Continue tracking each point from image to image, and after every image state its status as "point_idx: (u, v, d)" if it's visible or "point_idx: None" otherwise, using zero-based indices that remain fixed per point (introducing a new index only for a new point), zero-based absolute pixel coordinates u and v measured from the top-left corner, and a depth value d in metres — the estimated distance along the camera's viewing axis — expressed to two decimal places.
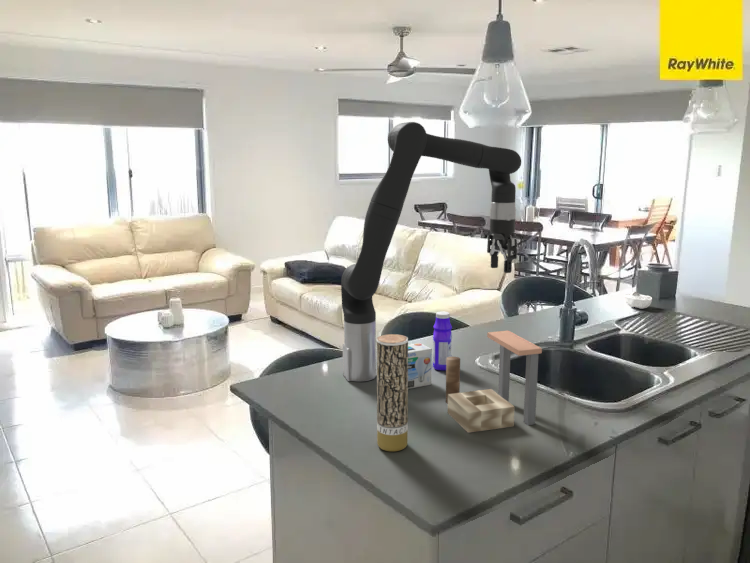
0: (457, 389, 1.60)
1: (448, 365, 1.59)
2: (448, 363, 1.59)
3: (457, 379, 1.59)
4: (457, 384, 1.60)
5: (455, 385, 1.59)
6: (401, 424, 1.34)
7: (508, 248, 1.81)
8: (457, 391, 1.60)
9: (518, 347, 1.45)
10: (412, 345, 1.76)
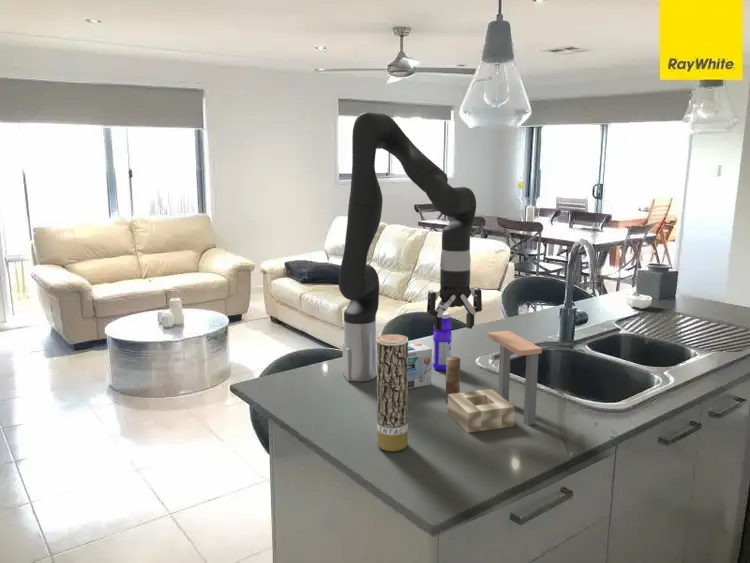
0: (457, 389, 1.60)
1: (448, 365, 1.59)
2: (448, 363, 1.59)
3: (457, 379, 1.59)
4: (457, 384, 1.60)
5: (455, 385, 1.59)
6: (401, 424, 1.34)
7: (479, 299, 1.57)
8: (457, 391, 1.60)
9: (518, 347, 1.45)
10: (412, 345, 1.76)
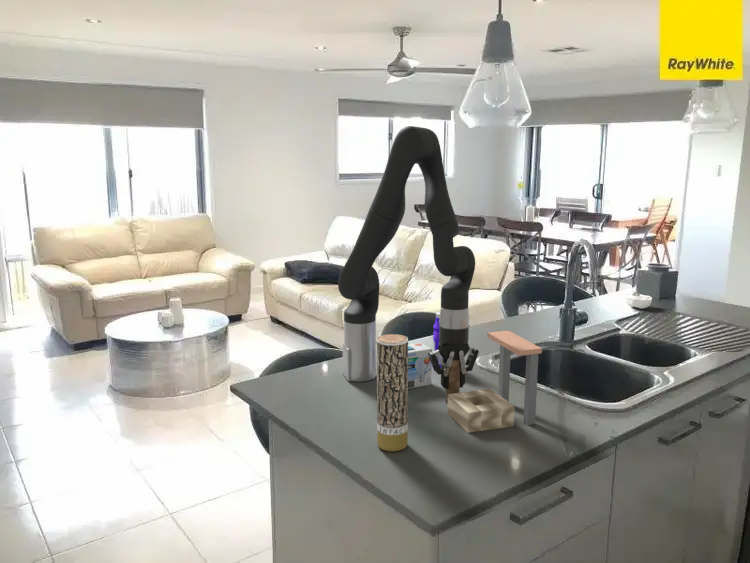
0: (457, 389, 1.60)
1: None
2: None
3: (457, 379, 1.59)
4: (457, 384, 1.60)
5: (455, 385, 1.59)
6: (401, 424, 1.34)
7: (473, 359, 1.60)
8: (457, 391, 1.60)
9: (518, 347, 1.45)
10: (412, 345, 1.76)
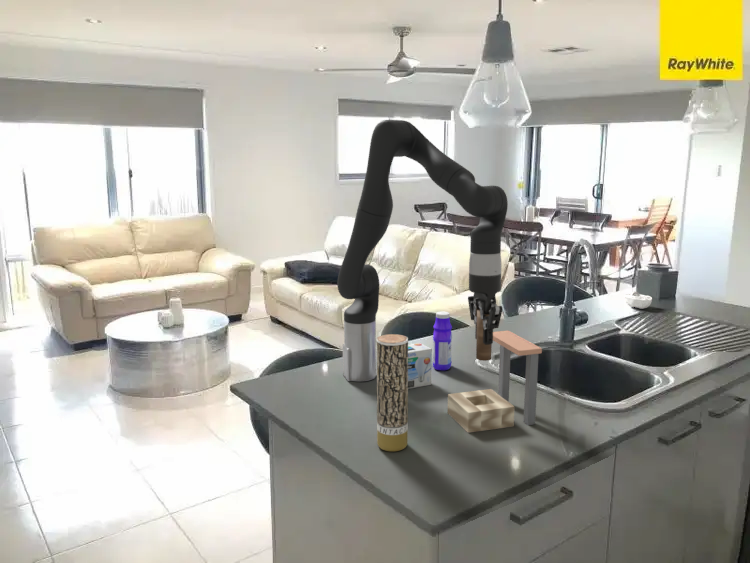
0: None
1: None
2: None
3: None
4: None
5: None
6: (401, 424, 1.34)
7: None
8: None
9: (518, 347, 1.45)
10: (412, 345, 1.76)
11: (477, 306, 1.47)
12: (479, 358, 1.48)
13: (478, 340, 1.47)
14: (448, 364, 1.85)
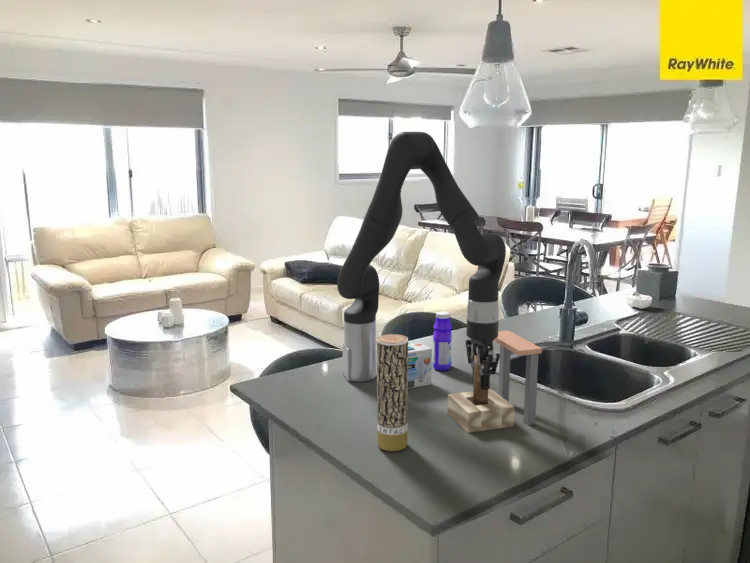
0: None
1: None
2: None
3: None
4: None
5: None
6: (401, 424, 1.34)
7: None
8: None
9: (518, 347, 1.45)
10: (412, 345, 1.76)
11: (474, 351, 1.48)
12: (476, 402, 1.49)
13: (475, 385, 1.49)
14: (448, 364, 1.85)
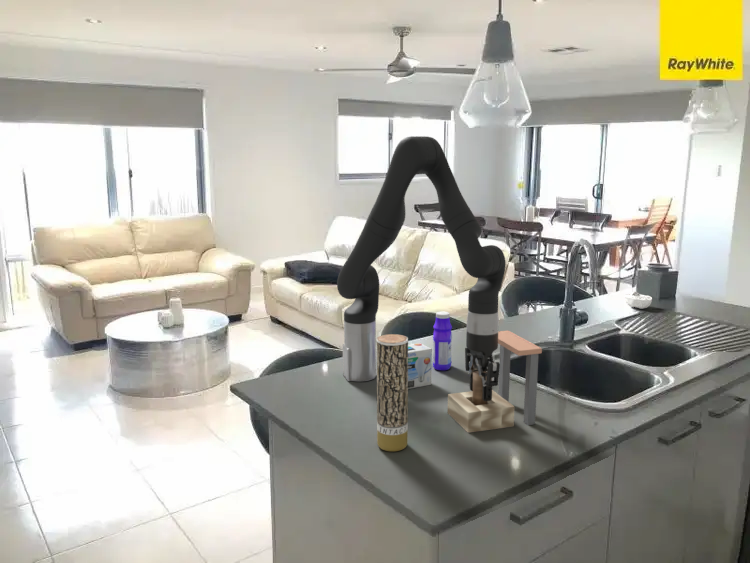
0: None
1: None
2: None
3: None
4: None
5: None
6: (401, 424, 1.34)
7: None
8: None
9: (518, 347, 1.45)
10: (412, 345, 1.76)
11: (473, 362, 1.49)
12: None
13: (474, 402, 1.50)
14: (448, 364, 1.85)
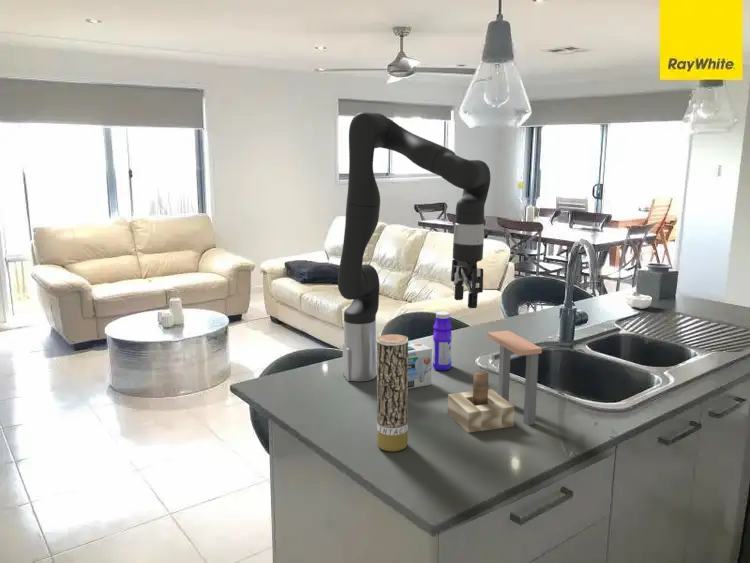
0: None
1: (486, 380, 1.48)
2: (486, 378, 1.48)
3: None
4: None
5: None
6: (401, 424, 1.34)
7: None
8: None
9: (518, 347, 1.45)
10: (412, 345, 1.76)
11: (459, 273, 1.57)
12: None
13: (474, 402, 1.50)
14: (448, 364, 1.85)
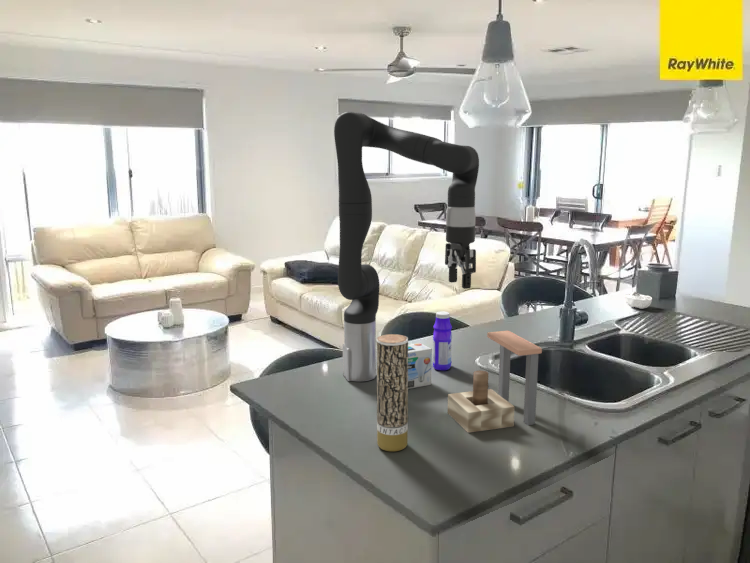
0: None
1: (486, 380, 1.48)
2: (486, 378, 1.48)
3: None
4: None
5: None
6: (401, 424, 1.34)
7: None
8: None
9: (518, 347, 1.45)
10: (412, 345, 1.76)
11: (452, 256, 1.62)
12: None
13: (474, 402, 1.50)
14: (448, 364, 1.85)
